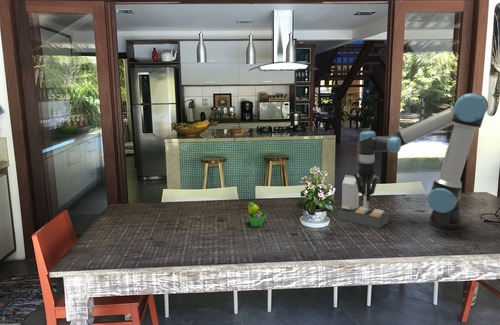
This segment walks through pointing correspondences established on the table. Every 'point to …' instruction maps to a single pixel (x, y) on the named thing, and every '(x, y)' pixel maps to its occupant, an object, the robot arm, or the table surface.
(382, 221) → the switch panel
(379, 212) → the near rocker
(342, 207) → the far rocker
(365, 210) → the middle rocker
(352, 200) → the milk carton
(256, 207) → the chick basket toy
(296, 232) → the table surface
